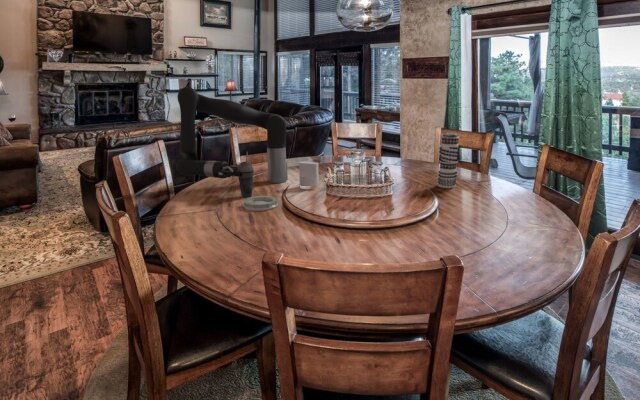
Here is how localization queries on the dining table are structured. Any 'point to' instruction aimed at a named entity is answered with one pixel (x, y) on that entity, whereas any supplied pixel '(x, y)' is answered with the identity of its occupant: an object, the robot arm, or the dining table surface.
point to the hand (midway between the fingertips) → (247, 172)
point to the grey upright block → (308, 173)
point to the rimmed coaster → (260, 203)
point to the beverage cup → (246, 178)
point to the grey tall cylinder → (448, 160)
